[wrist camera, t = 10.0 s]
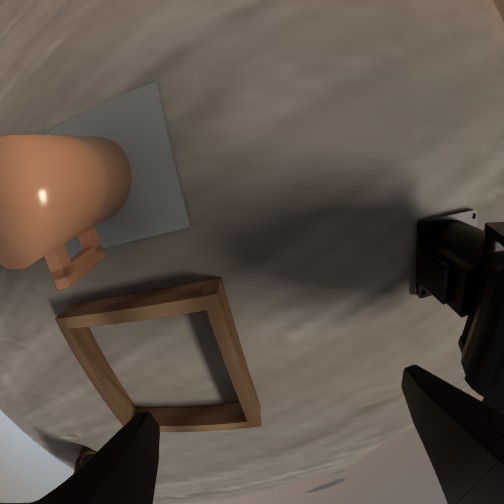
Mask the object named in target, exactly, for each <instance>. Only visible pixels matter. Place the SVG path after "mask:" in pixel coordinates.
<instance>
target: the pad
mask: <svg viewBox="0 0 504 504" xmlns="http://www.w3.org/2000/svg"><path fill="white" fill-rule="evenodd" d="M43 135H75V136H95V137H104V138H108V139H110V140H112V141H114V142H115V143H116V144H118V145H119V146H120V147H121V149H122V150H123V151H124V153H125V154H126V156H127V158H128V161H129V164H130V168H131V175H132V181H131V189H130V193H129V196H128V199H127V201H126V203H125V204H124V206H123V207H122V209H121V210H120V211H119V212H118V213H117V214H116V215H114V216H113V217H111V218H110V219H108V220H106V221H104V222H102V223H100V224H99V225H97V226H95V228H96V231H97V234H98V237H99V240H100V243H101V246H102V249H106V248H109V247H113V246H117V245H121V244H125V243H128V242H132V241H136V240H140V239H144V238H148V237H152V236H156V235H160V234H164V233H168V232H172V231H177V230H181V229H185V228H189V227H191V226H192V225H191V222H190V218H189V214H188V211H187V207H186V203H185V199H184V195H183V191H182V188H181V184H180V180H179V176H178V172H177V167H176V163H175V159H174V155H173V151H172V146H171V142H170V138H169V133H168V129H167V124H166V120H165V115H164V110H163V105H162V101H161V96H160V91H159V86H158V83H157V82H154V83H151V84H148V85H145V86H143V87H140V88H137V89H135V90H132V91H130V92H127V93H125V94H122V95H120V96H118V97H115V98H113V99H111V100H108V101H106V102H104V103H102V104H100V105H97V106H95V107H93V108H91V109H89V110H87V111H85V112H83V113H81V114H79V115H77V116H75V117H73V118H71V119H70V120H68V121H66V122H64V123H62V124H60V125H59V126H57V127H55V128H53V129H52V130H50V131H48V132H47V133H45V134H43ZM64 246H65V249H66V251H67V254H68V257H69V258H71V257H73V256H74V255H76V254H77V253H79V252H80V251H81V250H82V247H81V244H80V242H79V239H78V236H77V237H75V238H74V239H72V240H70V241H69V242H67V243H65V244H64Z"/></svg>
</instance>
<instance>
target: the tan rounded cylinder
mask: <svg viewBox="0 0 504 504" xmlns="http://www.w3.org/2000/svg"><path fill="white" fill-rule="evenodd" d="M131 181H132V175H131V168H130V164H129V161H128V158H127V156H126V154H125V153H124V151H123V150H122V149H121V147H120V146H119V145H118V144H116V143H115V142H114V141H112V140H110V139H108V138H104V137H95V136H75V135H6V136H2V137H0V264H1V265H2V266H4V267H6V268H9V269H13V270H20V269H24V268H26V267H28V266H30V265H31V264H33V263H35V262H36V261H38V260H39V259H41V258H42V257H45V260H46V262H47V265H48V267H49V270H50V272H51V275H52V277H53V280H54V282H55V284H56V287H57V289H58V290H59V289H63V288H67V287H71V286H72V285H73V284H74V283H75V282H76V281H78V280H79V279H80V278H81V277H82V276H83V275H85V274H86V273H87V272H88V271H89V270H90V269H92V268H93V267H94V266H95V265H96V264H98V263H99V262H100V261H101V260H102V259H104V258H105V254H104V251H103V249H102V246H101V243H100V240H99V237H98V234H97V231H96V228H95V226H97V225H99V224H100V223H102V222H104V221H106V220H108V219H110V218H111V217H113V216H114V215H116V214H117V213H118V212H119V211H120V210H121V209H122V207H123V206H124V204H125V203H126V201H127V199H128V196H129V193H130V189H131ZM77 236H78V239H79V242H80V244H81V247H82V250H81V251H80V252H79V253H77V254H76V255H74V256H73V257H71V258H70V259H69V257H68V254H67V251H66V249H65V246H64V244H65V243H67V242H69V241H70V240H72V239H74V238H75V237H77Z"/></svg>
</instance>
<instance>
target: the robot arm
mask: <svg viewBox="0 0 504 504" xmlns="http://www.w3.org/2000/svg"><path fill="white" fill-rule="evenodd" d="M472 215H473V217H472ZM424 224H425V227H424V229H422V226H423V225H424ZM416 280H417V285H416V294H417V296H418V297H419V298H425V297H428V296H431V295H433V296H434V297H435V298H437V299H438V300H439V301H440V302H441V303H442V304H447V305H449V306H450V307H451V308H452V309H453V310H454V311H455V312H456V313H457V314H458V315H459V316H460V317H464V316H467V315H468V317H467V321H466V324H465V327H464V330H463V333H462V335H461V336H460V339H459V342H458V344H459V347H460V350H461V353H462V358H461V363H462V366H463V369H464V372H465V374H466V375H465V381H466V382H467V383H468V385H469V386H470V387H471V388H472V389H473V390H474V391H475V392H477V393H478V394H479V395H481V396H483V397H484V398H483V400H482V401H480V400H478V399H476V398H474V397H472V396H471V395H469V394H467V393H465V392H463V391H462V390H460V389H458V388H456V387H455V386H453V385H451V384H449V383H447V382H446V381H444V380H442V379H440V378H439V377H437V376H435V375H433V374H432V373H430V372H428V371H426V370H425V369H423V368H421V367H419V366H418V365H411V366H408V367H406V368H405V369H404V372H403V378H402V390H403V393H404V396H405V399H406V402H407V405H408V408H409V411H410V414H411V417H412V420H413V423H414V425H415V427H416V429H417V432H418V434H419V436H420V438H421V440H422V442H423V445H424V447H425V449H426V451H427V454H428V456H429V458H430V461H431V463H432V465H433V468H434V470H435V473H436V475H437V477H438V480H439V482H440V485H441V487H442V490H443V492H444V495H445V497H446V500H447V503H448V504H504V222H491V223H485V229H484V231H483V230H481V229H478V213H477V211H476V210H473V209H469V210H465V211H460V212H455V213H450V214H446V215H441V216H436V217H431V218H426V219H422V220H420V221H419V222H418V224H417V251H416ZM422 291H423V292H422ZM421 292H422V293H421ZM500 411H501V412H500ZM502 412H503V413H502ZM159 439H160V426H159V424H158V422H157V421H156V420H155V418H154V417H153V415H152V414H151V413H150V412H149V411H139V412H138V413H137V414H136V415H135V416H134V417H132V418H131V419H130V420H129V421H128V422H127V423H126V424H125V425H124V426H123V427H122V428H121V429H120V430H119V431H118V432H117V433H116V434H115V435H114V436H113V437H112V438H111V439H110V440H109V441H108V442H107V443H106V444H105V445H104V446H103V447H102V448H101V449H100V450H99V451H98V452H97V453H95V454H94V455H93V456H92V457H91V458H90V459H89V460H88V461H87V462H86V463H85V464H84V465H83V466H82V468H79V469H78V470H77V471H76V472H75V473H74V474H73V475H72V476H71V477H70V478H68V479H67V480H66V481H65V482H63V483H62V484H61V485H60V486H58V487H57V488H56V489H54V490H53V491H51V492H50V493H48V494H47V495H46V496H44V497H43V498H41V499H40V500H37V501H35V502H31V503H0V504H153V497H154V490H155V483H156V476H157V470H158V462H159Z"/></svg>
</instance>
